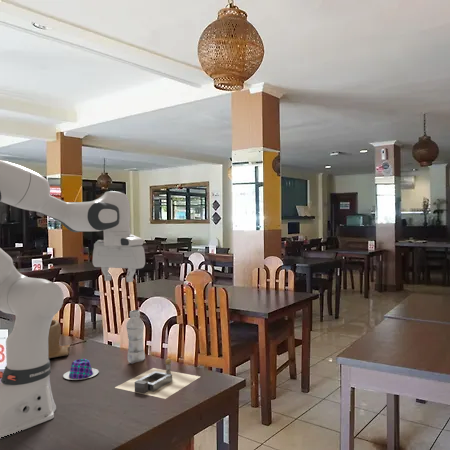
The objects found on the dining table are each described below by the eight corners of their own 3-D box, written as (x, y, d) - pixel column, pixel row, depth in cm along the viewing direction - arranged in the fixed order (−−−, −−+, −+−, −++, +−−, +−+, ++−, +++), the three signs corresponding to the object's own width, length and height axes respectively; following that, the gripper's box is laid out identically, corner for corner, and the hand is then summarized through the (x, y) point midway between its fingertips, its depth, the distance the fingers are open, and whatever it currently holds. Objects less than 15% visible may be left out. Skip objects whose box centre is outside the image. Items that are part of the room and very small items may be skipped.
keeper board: (165, 403, 131) (164, 378, 131) (114, 392, 141) (113, 368, 141) (200, 381, 149) (200, 358, 149) (153, 372, 158) (152, 351, 158)
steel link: (153, 391, 137) (153, 384, 137) (135, 388, 140) (135, 381, 140) (172, 380, 145) (172, 374, 145) (155, 377, 149) (155, 371, 149)
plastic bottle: (141, 366, 165) (140, 313, 164) (124, 365, 166) (123, 312, 166) (147, 360, 171) (146, 309, 171) (131, 360, 172) (130, 309, 172)
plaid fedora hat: (105, 371, 162) (104, 356, 162) (86, 383, 150) (86, 367, 150) (76, 368, 165) (75, 354, 165) (56, 380, 153) (55, 365, 153)
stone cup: (31, 365, 169) (30, 326, 169) (30, 356, 180) (29, 319, 180) (73, 359, 176) (71, 321, 175) (70, 350, 186) (68, 315, 186)
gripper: (87, 240, 150) (88, 281, 151) (135, 240, 141) (136, 284, 141) (100, 239, 156) (102, 278, 156) (147, 239, 146) (148, 281, 147)
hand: (118, 281), depth 148 cm, fingers open, 8 cm apart
